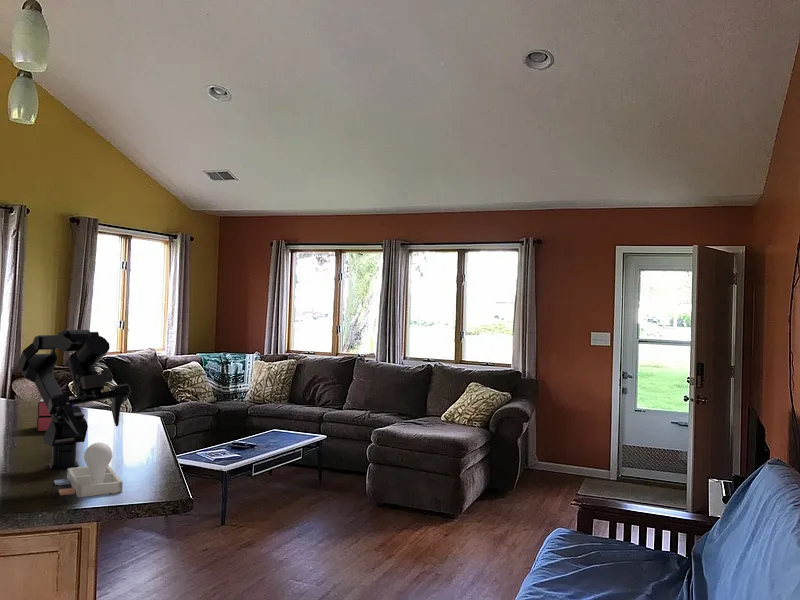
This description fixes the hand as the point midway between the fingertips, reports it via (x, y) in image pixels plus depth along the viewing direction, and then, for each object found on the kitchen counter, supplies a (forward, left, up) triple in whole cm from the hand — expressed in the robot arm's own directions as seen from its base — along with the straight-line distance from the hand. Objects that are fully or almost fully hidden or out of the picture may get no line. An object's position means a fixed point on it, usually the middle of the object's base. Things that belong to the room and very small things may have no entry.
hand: (98, 429), depth 165 cm
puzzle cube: (-71, -1, -13) cm, 72 cm away
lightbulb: (+9, -1, -13) cm, 16 cm away
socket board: (+5, -3, -12) cm, 14 cm away
